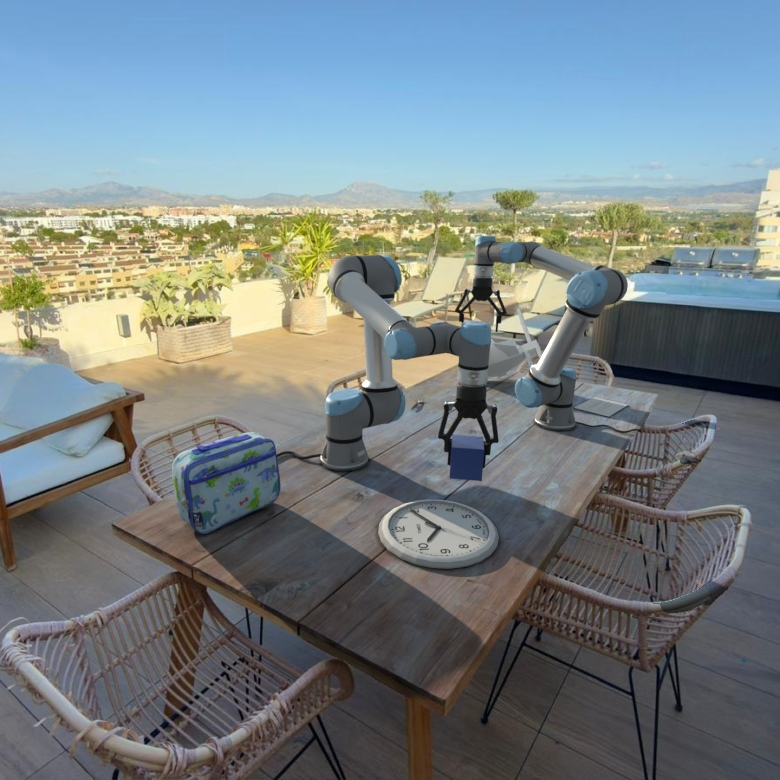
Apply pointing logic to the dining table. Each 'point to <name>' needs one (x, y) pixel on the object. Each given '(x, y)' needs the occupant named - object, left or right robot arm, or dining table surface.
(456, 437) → the block
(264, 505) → the lunch box
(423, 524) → the wall clock
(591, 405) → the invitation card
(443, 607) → the dining table surface
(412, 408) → the fork
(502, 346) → the white plastic object
